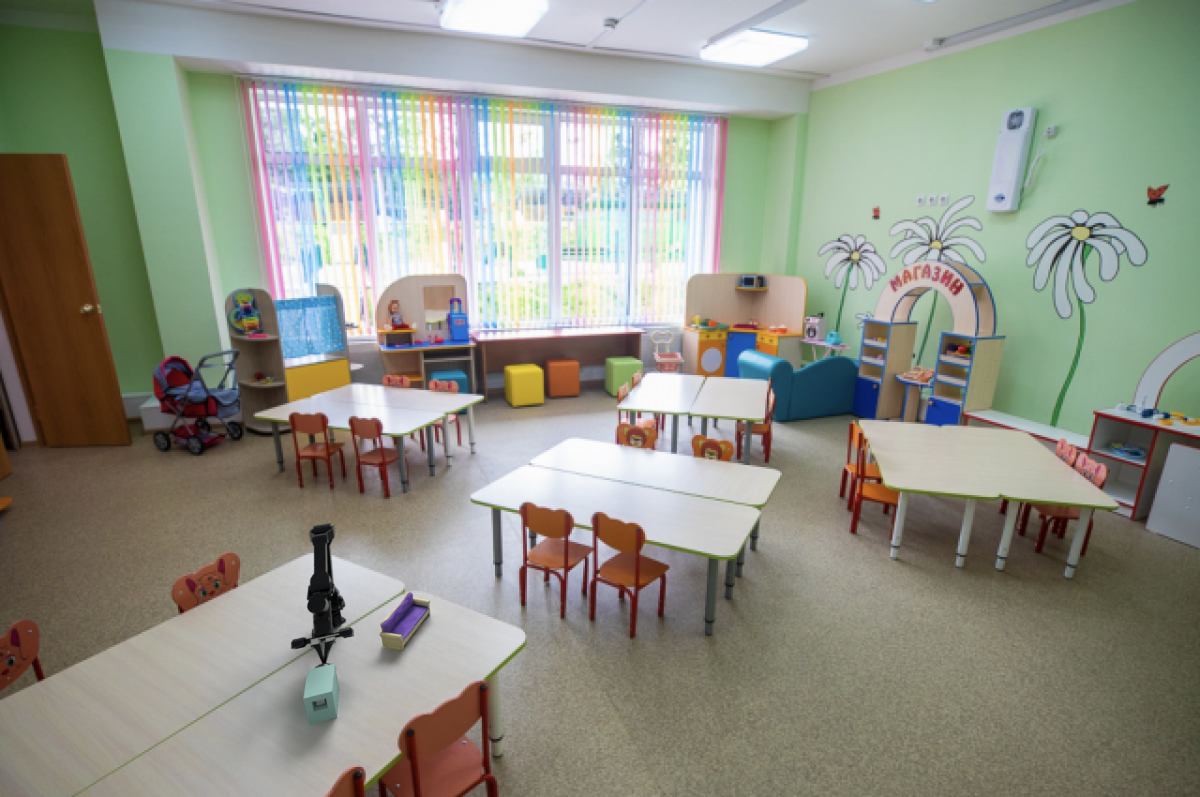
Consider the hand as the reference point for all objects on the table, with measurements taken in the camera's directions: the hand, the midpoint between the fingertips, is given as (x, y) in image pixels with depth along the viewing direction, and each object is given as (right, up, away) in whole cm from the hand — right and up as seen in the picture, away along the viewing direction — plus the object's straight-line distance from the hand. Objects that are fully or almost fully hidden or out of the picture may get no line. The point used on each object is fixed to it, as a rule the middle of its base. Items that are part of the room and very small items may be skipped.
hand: (324, 665), depth 191 cm
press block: (+4, -10, -8) cm, 13 cm away
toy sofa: (+19, +1, +25) cm, 32 cm away
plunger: (+3, -6, -7) cm, 10 cm away
